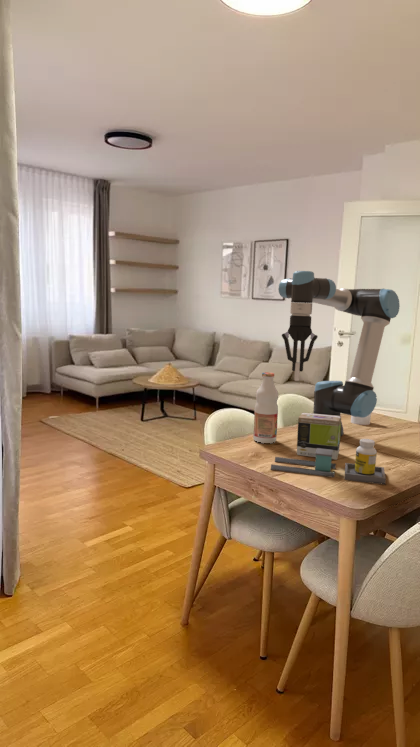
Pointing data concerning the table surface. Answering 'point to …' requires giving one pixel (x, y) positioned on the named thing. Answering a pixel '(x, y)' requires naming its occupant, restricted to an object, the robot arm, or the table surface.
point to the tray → (351, 475)
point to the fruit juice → (266, 410)
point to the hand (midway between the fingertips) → (296, 380)
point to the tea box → (318, 434)
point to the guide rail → (301, 470)
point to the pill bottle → (365, 458)
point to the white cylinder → (361, 420)
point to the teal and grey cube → (323, 459)
